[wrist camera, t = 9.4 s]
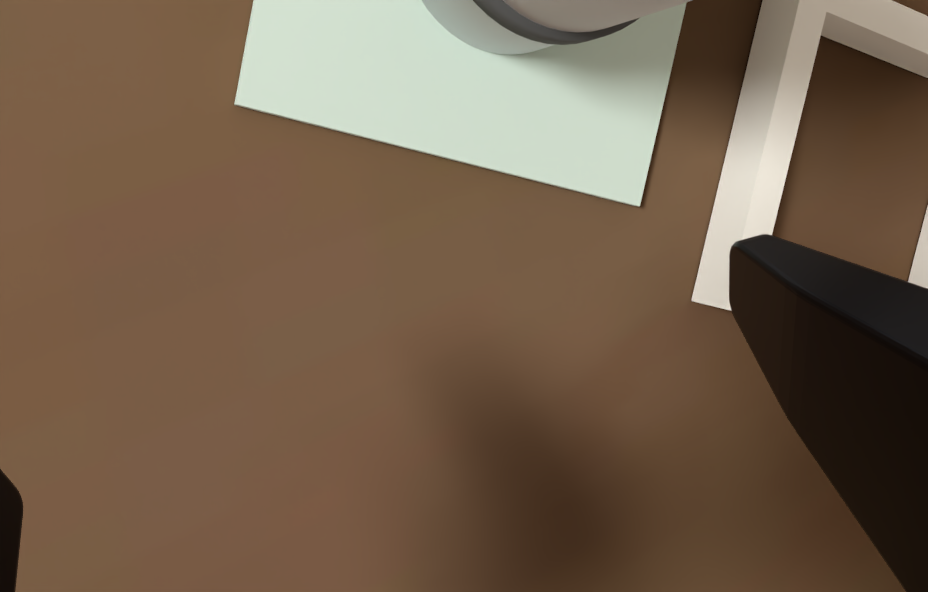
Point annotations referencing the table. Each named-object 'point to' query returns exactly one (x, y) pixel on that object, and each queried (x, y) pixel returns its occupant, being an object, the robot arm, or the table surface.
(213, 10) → the table surface
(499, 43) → the grey-banded white cylinder
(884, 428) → the robot arm
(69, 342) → the table surface
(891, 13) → the white square frame
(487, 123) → the mat
